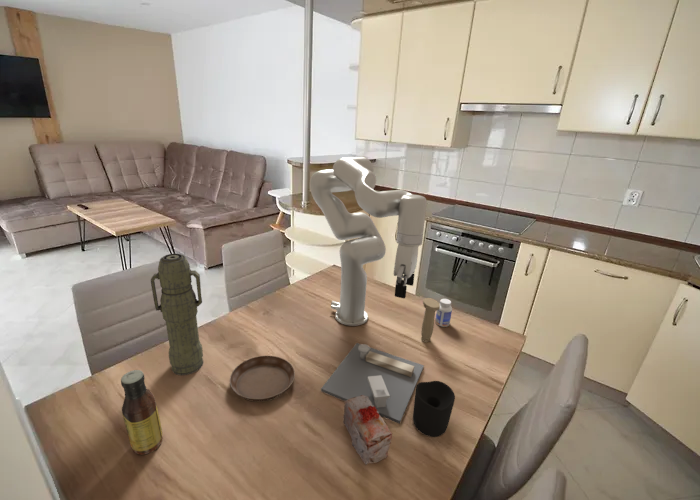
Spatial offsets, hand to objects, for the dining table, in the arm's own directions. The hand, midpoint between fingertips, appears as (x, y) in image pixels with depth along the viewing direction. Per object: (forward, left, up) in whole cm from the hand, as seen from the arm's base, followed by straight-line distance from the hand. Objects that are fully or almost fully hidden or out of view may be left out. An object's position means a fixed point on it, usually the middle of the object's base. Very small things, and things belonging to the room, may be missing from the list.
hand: (404, 290), depth 106 cm
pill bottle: (+10, +26, -23) cm, 36 cm away
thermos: (-53, -37, -23) cm, 69 cm away
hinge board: (-2, -15, -23) cm, 28 cm away
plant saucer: (-29, -32, -23) cm, 49 cm away
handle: (+7, +12, -23) cm, 27 cm away
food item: (+4, -36, -23) cm, 43 cm away
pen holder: (+17, -23, -23) cm, 37 cm away
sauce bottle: (-39, -60, -23) cm, 76 cm away
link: (+1, -9, -22) cm, 24 cm away
